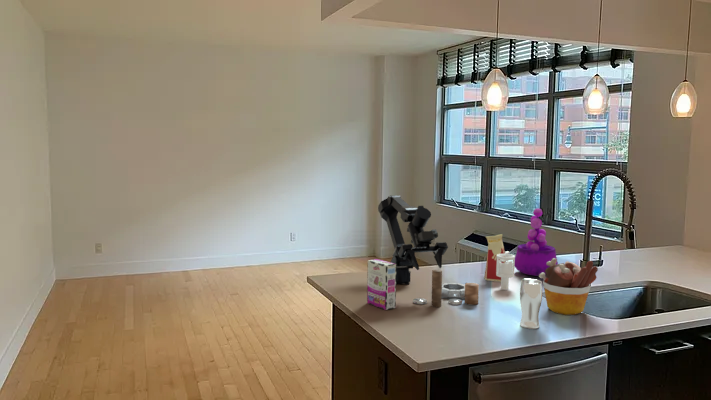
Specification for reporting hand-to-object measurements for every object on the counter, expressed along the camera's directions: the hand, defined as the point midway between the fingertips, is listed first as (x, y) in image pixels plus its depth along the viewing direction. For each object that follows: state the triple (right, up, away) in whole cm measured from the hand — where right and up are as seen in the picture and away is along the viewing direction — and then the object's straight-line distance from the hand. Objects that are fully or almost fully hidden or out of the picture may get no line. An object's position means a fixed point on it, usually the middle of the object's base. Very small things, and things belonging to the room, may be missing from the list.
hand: (429, 268), depth 210 cm
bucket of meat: (+48, -14, -10) cm, 51 cm away
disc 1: (-4, -13, -1) cm, 13 cm away
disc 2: (+9, -13, -1) cm, 16 cm away
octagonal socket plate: (+11, -11, +9) cm, 18 cm away
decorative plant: (+53, -8, +41) cm, 68 cm away
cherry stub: (+15, -13, -1) cm, 20 cm away
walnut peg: (+2, -13, -4) cm, 14 cm away
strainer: (+33, -11, +18) cm, 39 cm away
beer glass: (+29, -16, -26) cm, 42 cm away
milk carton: (+33, -9, +34) cm, 48 cm away
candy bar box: (-18, -13, -5) cm, 23 cm away
